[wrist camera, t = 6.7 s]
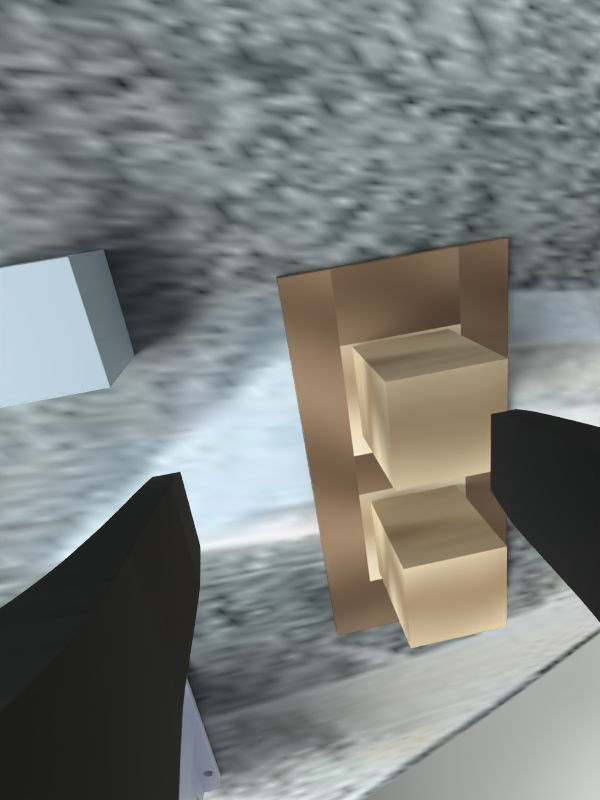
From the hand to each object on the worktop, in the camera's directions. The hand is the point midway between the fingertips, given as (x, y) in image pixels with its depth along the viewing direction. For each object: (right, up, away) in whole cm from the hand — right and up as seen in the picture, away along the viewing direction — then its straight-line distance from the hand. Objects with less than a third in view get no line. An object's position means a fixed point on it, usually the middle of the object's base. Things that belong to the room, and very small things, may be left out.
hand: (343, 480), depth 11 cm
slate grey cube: (-10, +5, +7) cm, 13 cm away
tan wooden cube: (+3, +3, +9) cm, 10 cm away
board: (+4, -1, +11) cm, 12 cm away
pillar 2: (+5, -4, +12) cm, 13 cm away
